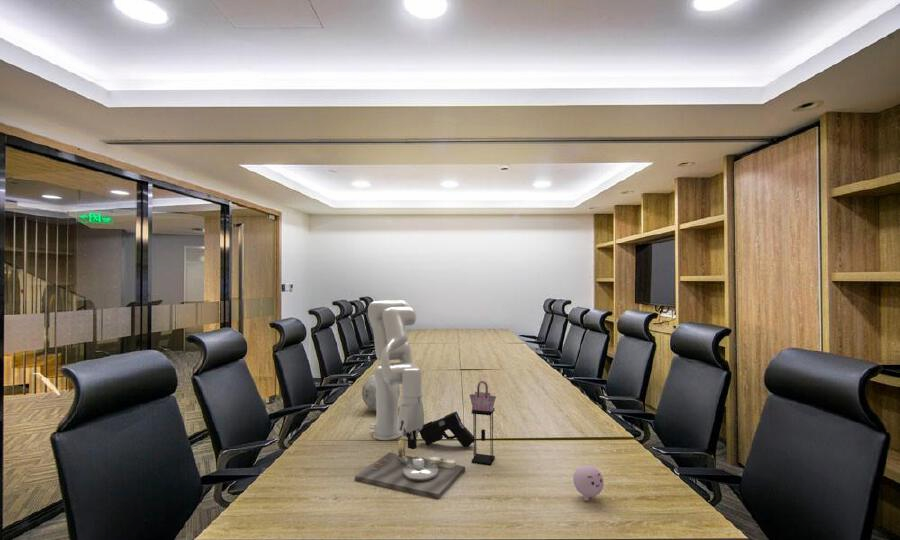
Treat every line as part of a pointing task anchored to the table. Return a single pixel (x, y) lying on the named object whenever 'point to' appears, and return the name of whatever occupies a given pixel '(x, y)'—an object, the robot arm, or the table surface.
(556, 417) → the table surface
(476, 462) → the handbag
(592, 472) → the toy
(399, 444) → the crank handle
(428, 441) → the toy
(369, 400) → the decorative sphere
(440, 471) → the level board
